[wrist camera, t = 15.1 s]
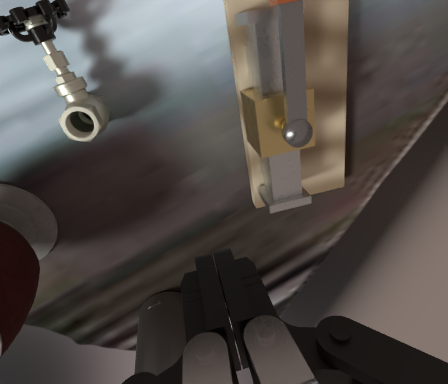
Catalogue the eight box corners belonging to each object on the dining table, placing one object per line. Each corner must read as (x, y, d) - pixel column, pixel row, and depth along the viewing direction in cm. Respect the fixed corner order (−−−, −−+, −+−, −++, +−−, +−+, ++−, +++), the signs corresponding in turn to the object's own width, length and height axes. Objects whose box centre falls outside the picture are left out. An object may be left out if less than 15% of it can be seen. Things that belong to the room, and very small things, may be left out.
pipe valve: (296, 182, 41) (323, 212, 34) (254, 192, 41) (273, 225, 34) (285, 4, 31) (321, -4, 24) (229, 15, 31) (249, 10, 24)
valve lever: (306, 139, 30) (314, 145, 28) (281, 145, 30) (288, 151, 28) (297, -81, 22) (308, -90, 20) (263, -75, 22) (271, -84, 20)
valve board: (337, 180, 45) (344, 186, 43) (252, 201, 44) (256, 208, 42) (339, -33, 32) (349, -37, 31) (221, -11, 31) (225, -14, 30)
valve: (129, 116, 36) (73, 1, 30) (122, 132, 30) (52, -7, 24) (76, 136, 36) (9, 25, 30) (59, 156, 30) (-27, 22, 24)
